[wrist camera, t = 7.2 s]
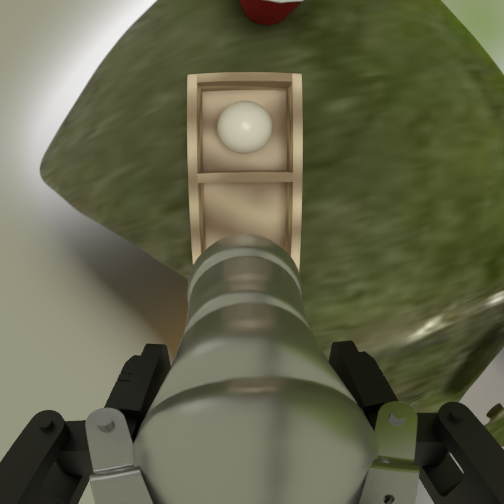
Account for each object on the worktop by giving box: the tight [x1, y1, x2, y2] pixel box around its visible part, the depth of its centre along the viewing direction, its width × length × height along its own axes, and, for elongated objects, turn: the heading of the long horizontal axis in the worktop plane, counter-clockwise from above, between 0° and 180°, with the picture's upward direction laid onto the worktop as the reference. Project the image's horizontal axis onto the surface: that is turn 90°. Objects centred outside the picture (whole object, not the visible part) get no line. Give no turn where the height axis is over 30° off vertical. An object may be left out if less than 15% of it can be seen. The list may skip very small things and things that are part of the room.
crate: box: [187, 72, 303, 271], centre depth 33 cm, size 23×12×6 cm, turn 0°
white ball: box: [217, 101, 273, 154], centre depth 30 cm, size 6×6×6 cm
